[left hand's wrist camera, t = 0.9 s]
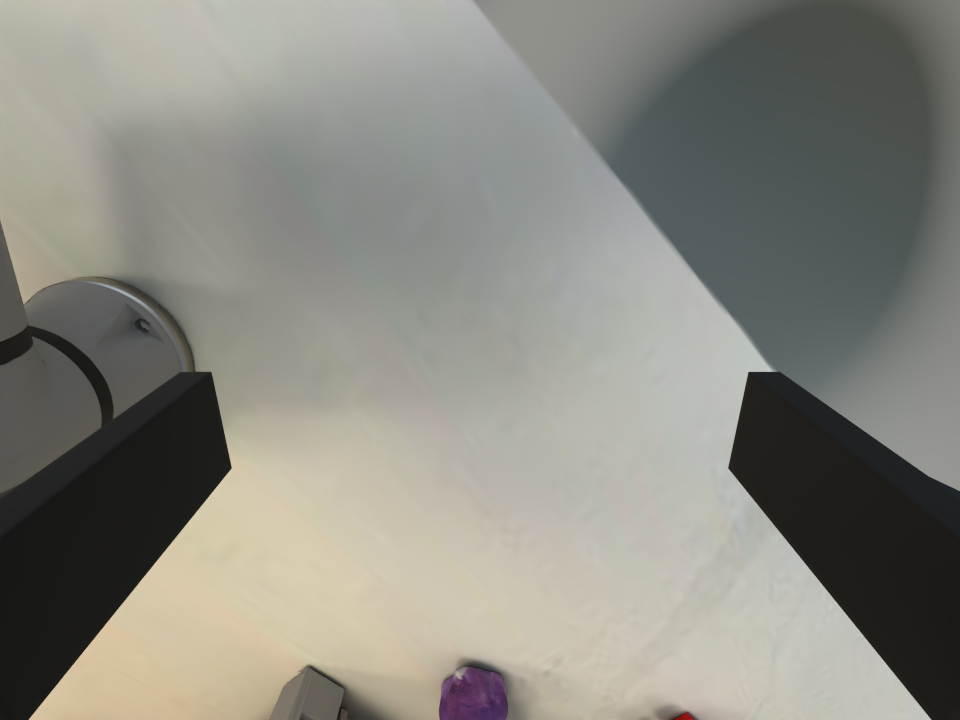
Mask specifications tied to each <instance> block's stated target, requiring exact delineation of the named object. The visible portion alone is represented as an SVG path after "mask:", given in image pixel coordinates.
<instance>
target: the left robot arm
mask: <svg viewBox="0 0 960 720" xmlns="http://www.w3.org/2000/svg"><path fill="white" fill-rule="evenodd" d="M231 468H232V467H231V463H230V458H229V453H228V448H227V444H226V439H225V434H224V429H223V425H222V420H221V415H220V410H219V406H218V401H217V396H216V391H215V387H214V382H213V377H212V373H211V372H194V369H193V360H192V355H191V351H190V348H189V345H188V343H187V341H186V338H185V337H184V335H183V333H182V331H181V329H180V328H179V326H178V325H177V323H176V322H175V321H174V319H173V318H172V317H171V316H170V315H169V314H168V312H167V311H166V310H165V309H163V308H162V307H161V306H160V305H159V304H158V303H157V302H156V301H154V300H153V299H152V298H150V297H149V296H147V295H146V294H144V293H143V292H141V291H139V290H137V289H135V288H133V287H131V286H129V285H127V284H124V283H121V282H118V281H115V280H111V279H106V278H99V277H83V278H76V279H71V280H68V281H64V282H61V283H57V284H54V285H51V286H48V287H46V288H44V289H42V290H40V291H39V292H37V293H36V294H35V295H33V296H32V297H31V298H30V299H29V300H28V301H27V302H26V303H25V304H24V305H23V301H22V298H21V294H20V290H19V287H18V283H17V279H16V276H15V272H14V269H13V265H12V261H11V258H10V254H9V251H8V247H7V243H6V240H5V236H4V233H3V229H2V225H1V222H0V720H29V718H30V717H31V716H32V715H33V713H34V712H35V711H36V710H37V708H38V707H39V706H40V705H41V704H42V702H43V701H44V700H45V699H46V697H47V696H48V695H49V694H50V692H51V691H52V690H53V689H54V687H55V686H56V685H57V684H58V682H59V681H60V680H61V679H62V678H63V676H64V675H65V674H66V673H67V671H68V670H69V669H70V668H71V666H72V665H73V664H74V663H75V661H76V660H77V659H78V658H79V656H80V655H81V654H82V653H83V652H84V650H85V649H86V648H87V647H88V645H89V644H90V643H91V642H92V640H93V639H94V638H95V637H96V635H97V634H98V633H99V632H100V630H101V629H102V628H103V627H104V626H105V624H106V623H107V622H108V621H109V619H110V618H111V617H112V616H113V614H114V613H115V612H116V611H117V609H118V608H119V607H120V606H121V605H122V603H123V602H124V601H125V600H126V598H127V597H128V596H129V595H130V593H131V592H132V591H133V590H134V588H135V587H136V586H137V585H138V583H139V582H140V581H141V580H142V579H143V577H144V576H145V575H146V574H147V572H148V571H149V570H150V569H151V567H152V566H153V565H154V564H155V562H156V561H157V560H158V559H159V557H160V556H161V555H162V554H163V553H164V551H165V550H166V549H167V548H168V546H169V545H170V544H171V543H172V541H173V540H174V539H175V538H176V536H177V535H178V534H179V533H180V532H181V530H182V529H183V528H184V527H185V525H186V524H187V523H188V522H189V520H190V519H191V518H192V517H193V515H194V514H195V513H196V512H197V510H198V509H199V508H200V507H201V506H202V504H203V503H204V502H205V501H206V499H207V498H208V497H209V496H210V494H211V493H212V492H213V491H214V489H215V488H216V487H217V486H218V484H219V483H220V482H221V481H222V480H223V478H224V477H225V476H226V475H227V473H228V472H229V471H230V470H231ZM728 468H729V470H730V471H731V472H732V473H733V475H734V476H735V477H736V478H737V480H738V481H739V482H740V483H741V484H742V486H743V487H744V488H745V489H746V491H747V492H748V493H749V494H750V496H751V497H752V498H753V499H754V501H755V502H756V503H757V504H758V506H759V507H760V508H761V509H762V510H763V512H764V513H765V514H766V515H767V517H768V518H769V519H770V520H771V522H772V523H773V524H774V525H775V527H776V528H777V529H778V530H779V532H780V533H781V534H782V535H783V536H784V538H785V539H786V540H787V541H788V543H789V544H790V545H791V546H792V548H793V549H794V550H795V551H796V553H797V554H798V555H799V556H800V557H801V559H802V560H803V561H804V562H805V564H806V565H807V566H808V567H809V569H810V570H811V571H812V572H813V574H814V575H815V576H816V577H817V579H818V580H819V581H820V582H821V583H822V585H823V586H824V587H825V588H826V590H827V591H828V592H829V593H830V595H831V596H832V597H833V598H834V600H835V601H836V602H837V603H838V605H839V606H840V607H841V608H842V609H843V611H844V612H845V613H846V614H847V616H848V617H849V618H850V619H851V621H852V622H853V623H854V624H855V626H856V627H857V628H858V629H859V630H860V632H861V633H862V634H863V635H864V637H865V638H866V639H867V640H868V642H869V643H870V644H871V645H872V647H873V648H874V649H875V650H876V652H877V653H878V654H879V655H880V656H881V658H882V659H883V660H884V661H885V663H886V664H887V665H888V666H889V668H890V669H891V670H892V671H893V673H894V674H895V675H896V676H897V678H898V679H899V680H900V681H901V682H902V684H903V685H904V686H905V687H906V689H907V690H908V691H909V692H910V694H911V695H912V696H913V697H914V699H915V700H916V701H917V702H918V704H919V705H920V706H921V707H922V708H923V710H924V711H925V712H926V713H927V715H928V716H929V717H930V718H931V720H960V491H958V490H956V489H954V488H952V487H949V486H947V485H945V484H943V483H941V482H939V481H937V480H935V479H933V478H931V477H928V476H927V475H926V474H924V473H923V472H921V471H920V470H918V469H917V468H916V467H914V466H913V465H911V464H910V463H909V462H907V461H906V460H904V459H903V458H901V457H900V456H899V455H897V454H896V453H894V452H893V451H891V450H890V449H889V448H887V447H886V446H884V445H883V444H882V443H880V442H879V441H877V440H876V439H874V438H873V437H872V436H870V435H869V434H867V433H866V432H864V431H863V430H862V429H860V428H859V427H857V426H856V425H855V424H853V423H852V422H850V421H849V420H847V419H846V418H845V417H843V416H842V415H840V414H839V413H837V412H836V411H835V410H833V409H832V408H830V407H829V406H828V405H826V404H825V403H823V402H822V401H820V400H819V399H818V398H816V397H815V396H813V395H812V394H810V393H809V392H808V391H806V390H805V389H803V388H802V387H801V386H799V385H798V384H796V383H795V382H793V381H792V380H791V379H789V378H788V377H786V376H785V375H783V374H782V373H781V372H749V373H748V377H747V382H746V387H745V391H744V396H743V401H742V406H741V410H740V415H739V420H738V425H737V429H736V434H735V439H734V444H733V448H732V453H731V458H730V463H729V467H728Z"/></svg>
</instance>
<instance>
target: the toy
mask: <svg viewBox="0 0 960 720" xmlns="http://www.w3.org/2000/svg"><path fill="white" fill-rule="evenodd" d="M674 720H694V719H693V718H692V717H691V716H690V715H689V714H688V713H686V714H684V715H682V716H680V717H678V718H676V719H674Z"/></svg>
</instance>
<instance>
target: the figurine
mask: <svg viewBox="0 0 960 720" xmlns="http://www.w3.org/2000/svg"><path fill="white" fill-rule="evenodd" d="M507 713H508V703H507V693H506V687H505V683H504V680H503V677H502V676H501V675H499V674H498V673H495V672H489V671H486V670H482V669H479V668H474V667H461V668H458V669H456V671H455V672H454V675H453V676H452V677H450V678H448V679H446V680H445V681H444V682H443V683H442V690H441V700H440V707H439V716H440V720H506V718H507Z"/></svg>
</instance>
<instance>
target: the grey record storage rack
mask: <svg viewBox="0 0 960 720" xmlns="http://www.w3.org/2000/svg"><path fill="white" fill-rule="evenodd" d="M301 671H304V672H303V673H301V674H300V675H299V676H297V677H296V678H295V679H293V680H292V681H291V682H289V683H288V684H287V685H285V686H284V687H283V690H282V692H281V694H280V696H279V699H278V701H277V703H276V706H275V708H274V710H273V713H272V715H271V717H270V720H347V714H348V711H346V710H344V709H341V711H340V714H339V717H337V715H338V712H339V708H340V704H341V701H342V697H343V694H344V690H345V689H343V688H341V687H339V686H338V685H336V684H335V683H333V682H331V681H330V680H328V679H326V678H325V677H323V676H321V675H320V674H318V673H317V672H315V671H313V670H312V669H311V668H310V667H306V668H304V669H302V670H300V671H298V672H301Z"/></svg>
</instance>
